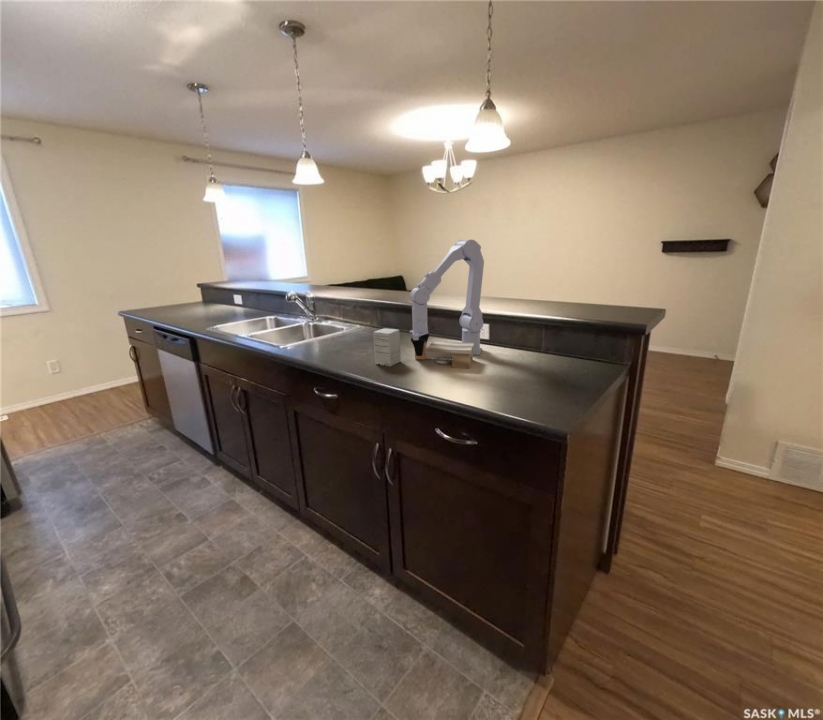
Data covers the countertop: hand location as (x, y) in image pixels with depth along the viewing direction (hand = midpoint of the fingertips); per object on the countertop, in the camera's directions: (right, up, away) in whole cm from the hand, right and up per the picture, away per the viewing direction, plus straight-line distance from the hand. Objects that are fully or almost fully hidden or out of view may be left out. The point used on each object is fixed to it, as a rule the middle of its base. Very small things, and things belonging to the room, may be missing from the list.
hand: (420, 354), depth 151 cm
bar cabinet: (+11, -3, -6) cm, 13 cm away
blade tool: (+5, -2, -1) cm, 6 cm away
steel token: (+8, -3, -5) cm, 10 cm away
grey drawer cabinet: (-13, -4, -4) cm, 14 cm away
